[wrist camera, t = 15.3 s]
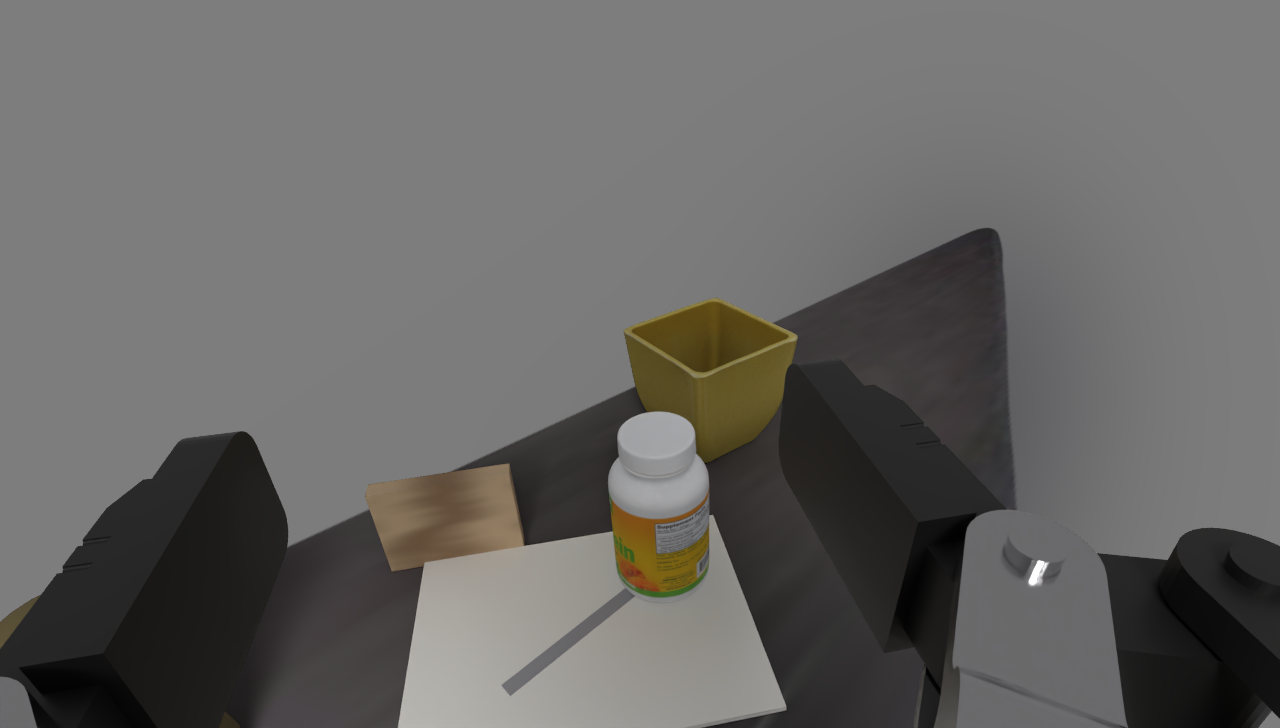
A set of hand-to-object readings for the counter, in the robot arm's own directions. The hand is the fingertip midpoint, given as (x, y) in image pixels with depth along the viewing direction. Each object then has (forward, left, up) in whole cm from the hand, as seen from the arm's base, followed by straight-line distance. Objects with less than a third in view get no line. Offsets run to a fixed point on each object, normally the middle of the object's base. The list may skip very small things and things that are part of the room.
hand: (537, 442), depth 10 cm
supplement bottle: (+5, +18, -23) cm, 30 cm away
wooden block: (-7, +22, -24) cm, 33 cm away
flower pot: (+11, +30, -24) cm, 40 cm away
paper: (0, +15, -24) cm, 28 cm away
